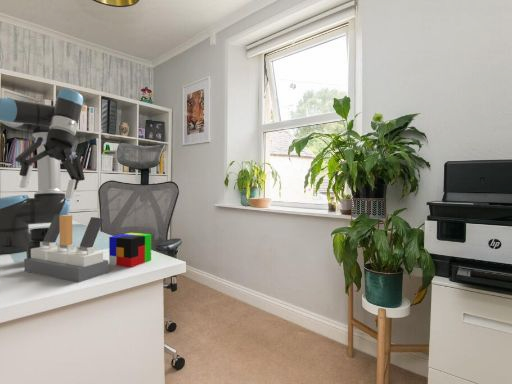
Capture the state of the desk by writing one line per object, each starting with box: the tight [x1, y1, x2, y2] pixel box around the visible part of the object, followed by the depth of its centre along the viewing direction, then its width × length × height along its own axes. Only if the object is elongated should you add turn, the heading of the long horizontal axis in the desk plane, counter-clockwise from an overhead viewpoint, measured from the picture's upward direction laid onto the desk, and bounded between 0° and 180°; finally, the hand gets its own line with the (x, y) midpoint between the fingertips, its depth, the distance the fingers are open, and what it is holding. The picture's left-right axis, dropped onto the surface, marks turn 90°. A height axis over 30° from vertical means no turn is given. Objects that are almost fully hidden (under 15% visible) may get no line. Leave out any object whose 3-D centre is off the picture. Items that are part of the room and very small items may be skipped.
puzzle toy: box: [108, 232, 152, 268], centre depth 104 cm, size 10×10×10 cm
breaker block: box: [23, 215, 109, 283], centre depth 92 cm, size 10×26×18 cm, turn 68°
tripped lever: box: [59, 214, 73, 249], centre depth 92 cm, size 2×3×11 cm, turn 68°
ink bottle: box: [25, 227, 58, 259], centre depth 104 cm, size 10×9×12 cm
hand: (47, 193), depth 90 cm, fingers open, 13 cm apart
